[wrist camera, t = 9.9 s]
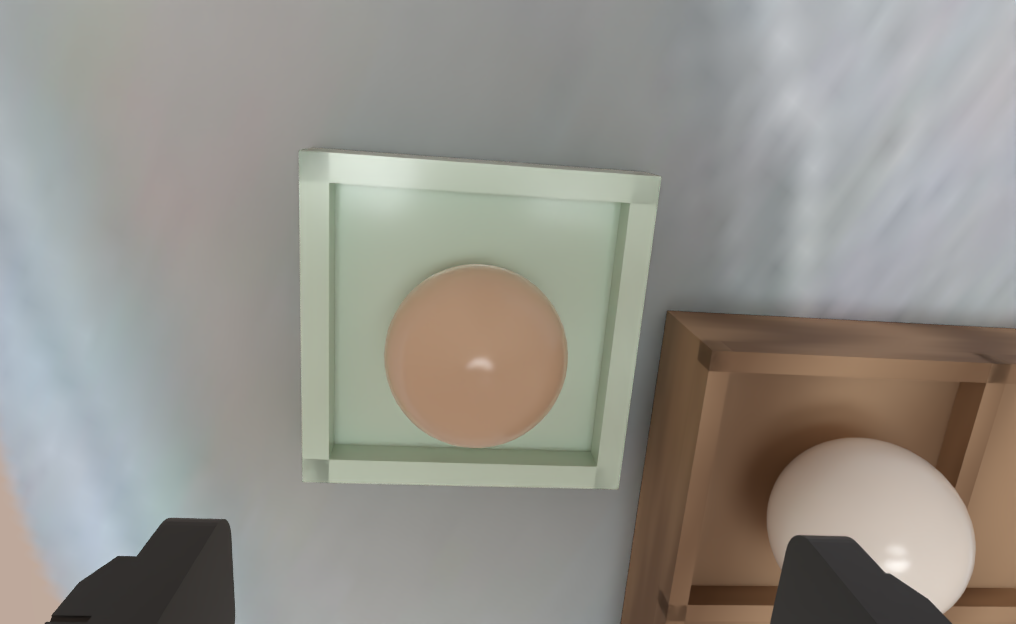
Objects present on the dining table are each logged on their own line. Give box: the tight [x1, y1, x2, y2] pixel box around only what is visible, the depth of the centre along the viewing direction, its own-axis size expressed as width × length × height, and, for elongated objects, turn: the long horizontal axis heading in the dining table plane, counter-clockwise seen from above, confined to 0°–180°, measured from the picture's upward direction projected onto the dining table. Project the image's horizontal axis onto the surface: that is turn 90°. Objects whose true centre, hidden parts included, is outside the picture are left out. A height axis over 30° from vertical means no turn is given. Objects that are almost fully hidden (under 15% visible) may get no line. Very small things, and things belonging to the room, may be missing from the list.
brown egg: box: [384, 264, 568, 448], centre depth 18 cm, size 5×5×5 cm
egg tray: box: [621, 311, 1016, 624], centre depth 23 cm, size 17×17×4 cm
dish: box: [299, 148, 661, 489], centre depth 20 cm, size 10×10×2 cm
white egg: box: [767, 438, 976, 614], centre depth 18 cm, size 5×5×5 cm
